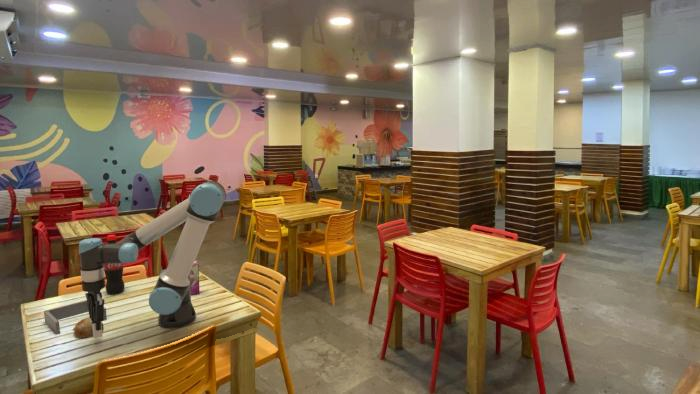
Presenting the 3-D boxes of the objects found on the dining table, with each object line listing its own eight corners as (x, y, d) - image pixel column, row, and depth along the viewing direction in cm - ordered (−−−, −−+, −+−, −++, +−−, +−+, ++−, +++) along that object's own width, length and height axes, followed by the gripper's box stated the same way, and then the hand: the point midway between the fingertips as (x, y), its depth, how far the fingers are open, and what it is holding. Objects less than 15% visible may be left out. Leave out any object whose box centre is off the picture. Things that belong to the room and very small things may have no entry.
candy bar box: (176, 298, 203) (174, 266, 201) (175, 295, 208) (173, 263, 205) (200, 294, 209) (198, 262, 207) (198, 291, 213) (196, 260, 211)
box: (106, 319, 179) (105, 308, 178) (56, 334, 165) (55, 322, 165) (93, 308, 190) (92, 298, 189) (44, 322, 176) (43, 310, 175)
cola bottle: (122, 294, 208) (118, 236, 203) (103, 296, 205) (99, 237, 201) (126, 288, 216) (122, 232, 211) (108, 290, 213) (104, 233, 209)
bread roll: (85, 348, 162) (91, 331, 161) (64, 335, 163) (70, 318, 162) (105, 336, 172) (111, 320, 170) (85, 324, 173) (90, 308, 171)
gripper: (110, 280, 156) (114, 338, 159) (97, 272, 164) (102, 328, 168) (88, 285, 150) (93, 346, 153) (76, 277, 158) (81, 335, 162)
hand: (97, 337), depth 160 cm, fingers closed
